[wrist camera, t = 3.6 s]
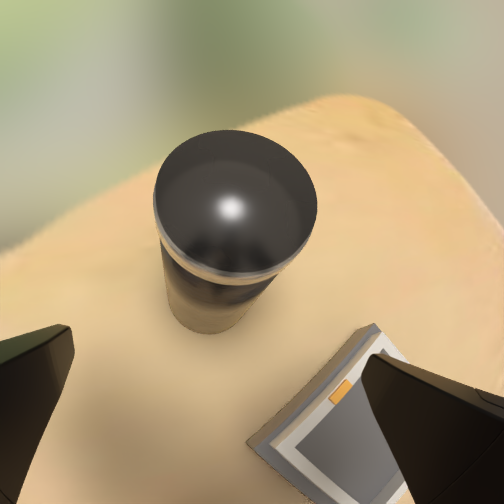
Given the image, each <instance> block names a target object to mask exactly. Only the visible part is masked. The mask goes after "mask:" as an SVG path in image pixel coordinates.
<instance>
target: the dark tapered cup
mask: <svg viewBox="0 0 504 504" xmlns="http://www.w3.org/2000/svg"><path fill="white" fill-rule="evenodd" d="M153 207H154V216H155V223H156V229H157V232H158V235H159V238H160V244H161V252H162V260H163V267H164V274H165V281H166V288H167V294H168V300H169V305H170V308H171V310H172V312H173V314H174V316H175V317H176V319H177V320H178V321H179V322H180V323H181V324H182V325H183V326H185V327H186V328H188V329H190V330H192V331H194V332H197V333H202V334H216V333H220V332H223V331H225V330H227V329H229V328H231V327H232V326H233V325H235V324H236V323H237V322H238V320H239V319H240V318H241V317H242V316H243V315H244V313H245V312H246V311H247V310H248V309H249V308H250V306H251V305H252V304H253V303H254V302H255V301H256V299H257V298H258V297H259V296H260V295H261V293H262V292H263V291H264V290H265V289H266V288H267V286H268V285H269V284H270V283H271V282H272V280H273V279H274V278H275V277H276V276H277V274H278V273H279V272H281V271H282V270H283V269H285V268H286V267H287V266H288V265H289V264H290V263H291V262H292V261H293V260H294V258H295V257H296V256H297V255H298V254H299V252H300V251H301V250H302V249H303V247H304V246H305V244H306V243H307V241H308V239H309V237H310V235H311V232H312V229H313V226H314V223H315V220H316V215H317V197H316V192H315V188H314V185H313V183H312V180H311V178H310V176H309V174H308V173H307V171H306V169H305V168H304V167H303V165H302V164H301V163H300V162H299V161H298V160H297V159H296V157H295V156H294V155H292V154H291V153H290V152H289V151H288V150H286V149H285V148H284V147H282V146H281V145H279V144H277V143H276V142H274V141H272V140H270V139H268V138H265V137H263V136H260V135H257V134H254V133H249V132H245V131H237V130H220V131H212V132H207V133H204V134H200V135H198V136H195V137H193V138H190V139H189V140H187V141H185V142H184V143H182V144H181V145H179V146H178V147H177V148H175V149H174V150H173V151H172V152H171V153H170V154H169V156H168V157H167V158H166V160H165V161H164V163H163V164H162V166H161V168H160V170H159V173H158V176H157V180H156V184H155V188H154V194H153Z"/></svg>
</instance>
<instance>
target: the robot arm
mask: <svg viewBox="0 0 504 504" xmlns="http://www.w3.org/2000/svg"><path fill="white" fill-rule="evenodd" d="M74 354H75V349H74V343H73V337H72V331H71V328H70V327H69V326H66V325H61V324H56V325H53V326H50V327H46V328H43V329H40V330H36V331H33V332H30V333H26V334H23V335H20V336H16V337H13V338H10V339H6V340H3V341H0V504H16V503H17V500H18V497H19V494H20V491H21V489H22V486H23V483H24V480H25V478H26V475H27V472H28V470H29V467H30V465H31V462H32V459H33V457H34V455H35V452H36V450H37V447H38V445H39V442H40V440H41V438H42V435H43V433H44V431H45V428H46V426H47V424H48V422H49V420H50V417H51V415H52V413H53V411H54V409H55V406H56V404H57V402H58V400H59V398H60V396H61V393H62V390H63V388H64V385H65V382H66V379H67V376H68V373H69V370H70V367H71V364H72V361H73V359H74ZM361 382H362V385H363V387H364V390H365V393H366V396H367V398H368V401H369V404H370V407H371V410H372V412H373V415H374V417H375V419H376V421H377V423H378V425H379V427H380V429H381V431H382V433H383V436H384V438H385V440H386V442H387V444H388V446H389V448H390V450H391V452H392V454H393V456H394V459H395V461H396V463H397V465H398V467H399V469H400V471H401V473H402V476H403V478H404V480H405V482H406V484H407V486H408V489H409V491H410V493H411V495H412V497H413V500H414V502H415V504H504V397H501V396H497V395H494V394H491V393H488V392H485V391H482V390H480V389H477V388H475V389H474V388H473V387H470V386H467V385H464V384H462V383H459V382H456V381H453V380H451V379H448V378H445V377H442V376H440V375H437V374H434V373H432V372H429V371H426V370H424V369H421V368H419V367H416V366H413V365H411V364H408V363H406V362H403V361H401V360H398V359H395V358H393V357H390V356H388V355H385V354H382V353H375V354H371V355H370V356H369V358H368V360H367V362H366V365H365V367H364V369H363V371H362V373H361Z"/></svg>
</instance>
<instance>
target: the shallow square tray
mask: <svg viewBox="0 0 504 504" xmlns="http://www.w3.org/2000/svg"><path fill="white" fill-rule="evenodd" d="M375 353H382V354H385V355H388V356H390V357H393V358H395V359H398V360H401V361H403V362H406V363H408V364H410V363H409V362H408V361H407V360H406V359H405V357H404V356H403V355H402V354H401V353H400V351H399V350H398V349H397V348H396V347H395V345H394V344H393V343H392V342H391V341H390V340H389V338H388V337H387V336H386V335H385V334H384V333H383V331H381V330H380V329H379V328H378V327H377V326H376V324H375V323H373V324H370V325H368V326H365V327H363V328H360V329H358V330H357V331H356V332H355V333H354V334H353V335H352V336H351V337H350V339H349V340H348V341H347V342H346V343H345V344H344V345H343V347H342V348H341V349H340V350H339V351H338V352H337V353H336V354H335V355H334V357H333V358H332V359H331V360H330V361H329V362H328V363H327V364H326V365H325V366H324V367H323V368H322V369H321V371H320V372H319V373H318V374H317V375H316V376H315V377H314V378H313V379H312V380H311V381H310V382H309V383H308V384H307V385H306V386H305V387H304V388H303V389H302V390H301V391H300V392H299V393H298V394H297V395H296V396H295V397H294V398H293V399H292V400H291V401H290V402H289V403H288V404H287V405H286V406H285V407H284V408H283V409H282V410H281V411H280V412H278V413H277V414H276V415H275V416H274V417H273V418H272V419H271V420H270V421H269V422H268V423H267V424H266V425H264V426H263V427H262V428H261V429H260V430H259V431H258V432H257V433H256V434H254V435H253V436H252V437H251V438H250V439H249V440H248V441H246V443H247V444H248V445H249V446H250V447H251V448H252V449H253V450H254V451H255V452H256V453H257V454H258V455H259V456H260V457H262V458H263V459H264V460H265V461H266V462H267V463H268V464H269V465H270V466H271V467H273V468H274V469H275V470H276V471H277V472H278V473H279V474H280V475H282V476H283V477H284V478H285V479H286V480H287V481H289V482H290V483H291V484H292V485H293V486H294V487H296V488H297V489H298V490H299V491H301V492H302V493H303V494H304V495H305V496H307V497H308V498H309V499H310V500H312V501H313V502H314V503H315V504H395V503H396V502H397V501H398V500H399V499H400V498H401V496H402V495H403V494H404V493H405V491H406V490H407V489H408V486H407V484H406V482H405V480H404V478H403V476H402V473H401V471H400V469H399V467H398V465H397V463H396V461H395V459H394V456H393V454H392V452H391V450H390V448H389V446H388V444H387V442H386V440H385V438H384V436H383V433H382V431H381V429H380V427H379V425H378V423H377V421H376V419H375V417H374V415H373V412H372V410H371V407H370V404H369V401H368V398H367V396H366V393H365V390H364V387H363V385H362V382H361V373H362V371H363V369H364V367H365V365H366V362H367V360H368V358H369V356H370V355H371V354H375Z"/></svg>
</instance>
